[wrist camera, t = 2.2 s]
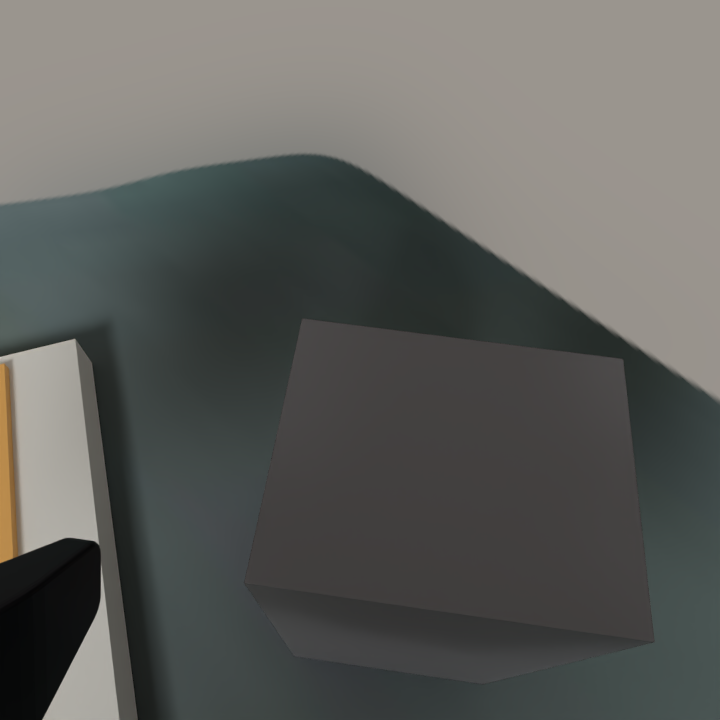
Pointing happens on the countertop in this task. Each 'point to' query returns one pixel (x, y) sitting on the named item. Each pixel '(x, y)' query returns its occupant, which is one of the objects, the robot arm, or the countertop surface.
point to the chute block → (450, 507)
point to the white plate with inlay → (64, 509)
